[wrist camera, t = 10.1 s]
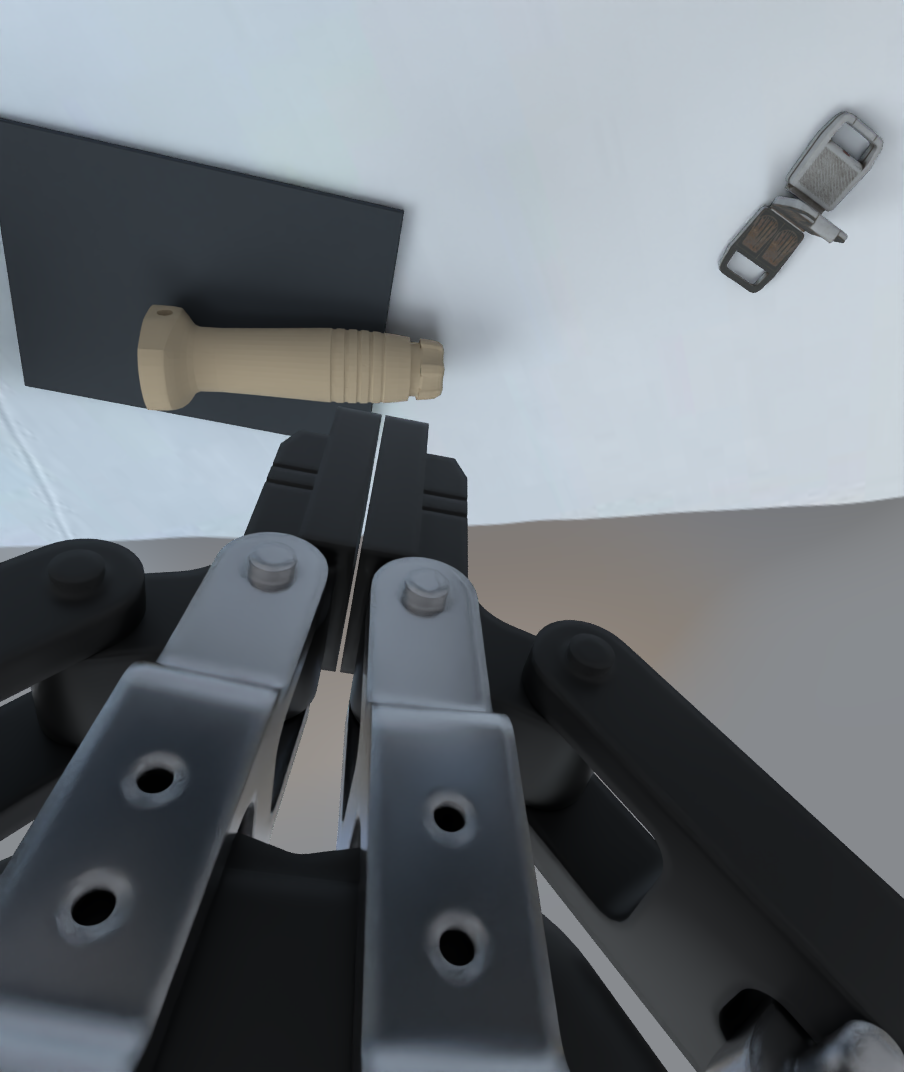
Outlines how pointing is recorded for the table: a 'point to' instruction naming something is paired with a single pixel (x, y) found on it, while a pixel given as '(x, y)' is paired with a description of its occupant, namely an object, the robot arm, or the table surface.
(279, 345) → the handle
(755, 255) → the strap clip
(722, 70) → the table surface
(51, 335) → the mat
